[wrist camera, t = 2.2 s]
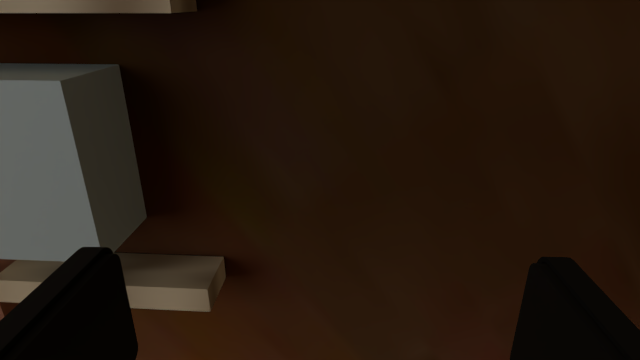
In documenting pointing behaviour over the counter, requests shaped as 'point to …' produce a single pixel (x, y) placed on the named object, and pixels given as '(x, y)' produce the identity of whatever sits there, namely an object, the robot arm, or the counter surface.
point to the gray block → (65, 161)
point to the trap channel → (138, 269)
